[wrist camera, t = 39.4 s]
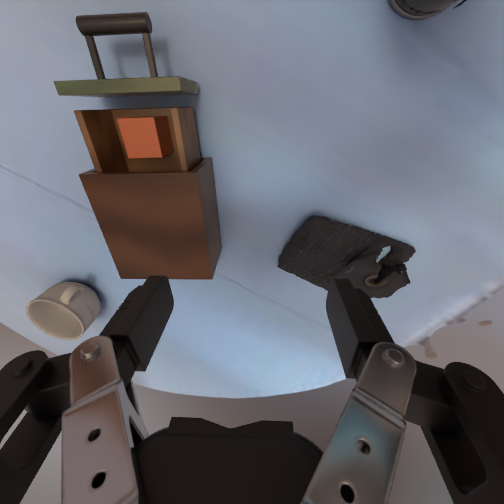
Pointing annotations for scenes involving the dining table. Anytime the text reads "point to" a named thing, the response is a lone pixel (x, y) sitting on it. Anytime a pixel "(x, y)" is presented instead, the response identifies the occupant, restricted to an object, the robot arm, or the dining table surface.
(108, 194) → the cabinet
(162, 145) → the block
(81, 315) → the teacup
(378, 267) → the dark slate chunk
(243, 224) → the dining table surface
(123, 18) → the drawer
